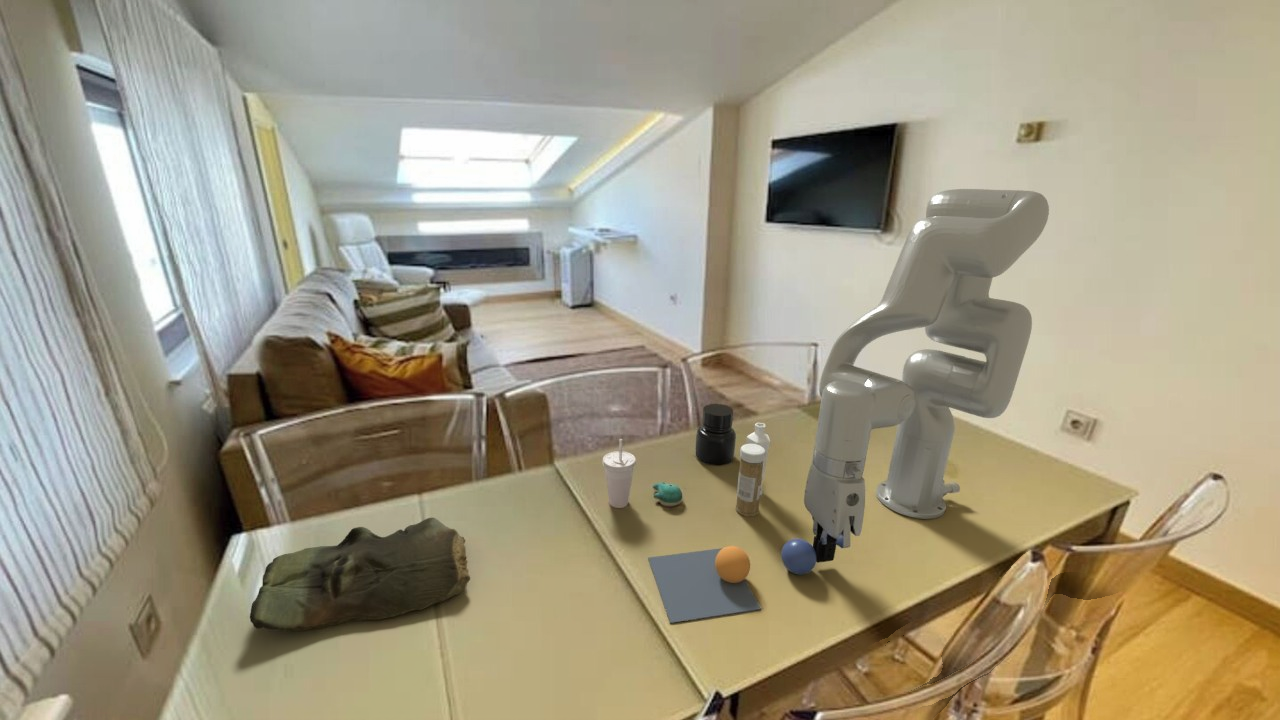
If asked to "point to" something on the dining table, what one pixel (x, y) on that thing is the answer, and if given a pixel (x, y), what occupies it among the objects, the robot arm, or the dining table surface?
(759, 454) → the sprinkles bottle
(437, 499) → the dining table surface
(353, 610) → the stone head
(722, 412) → the ink bottle
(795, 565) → the blue ball
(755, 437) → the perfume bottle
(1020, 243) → the robot arm
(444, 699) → the dining table surface
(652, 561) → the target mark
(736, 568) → the orange ball
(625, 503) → the smoothie
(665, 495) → the whale figurine
